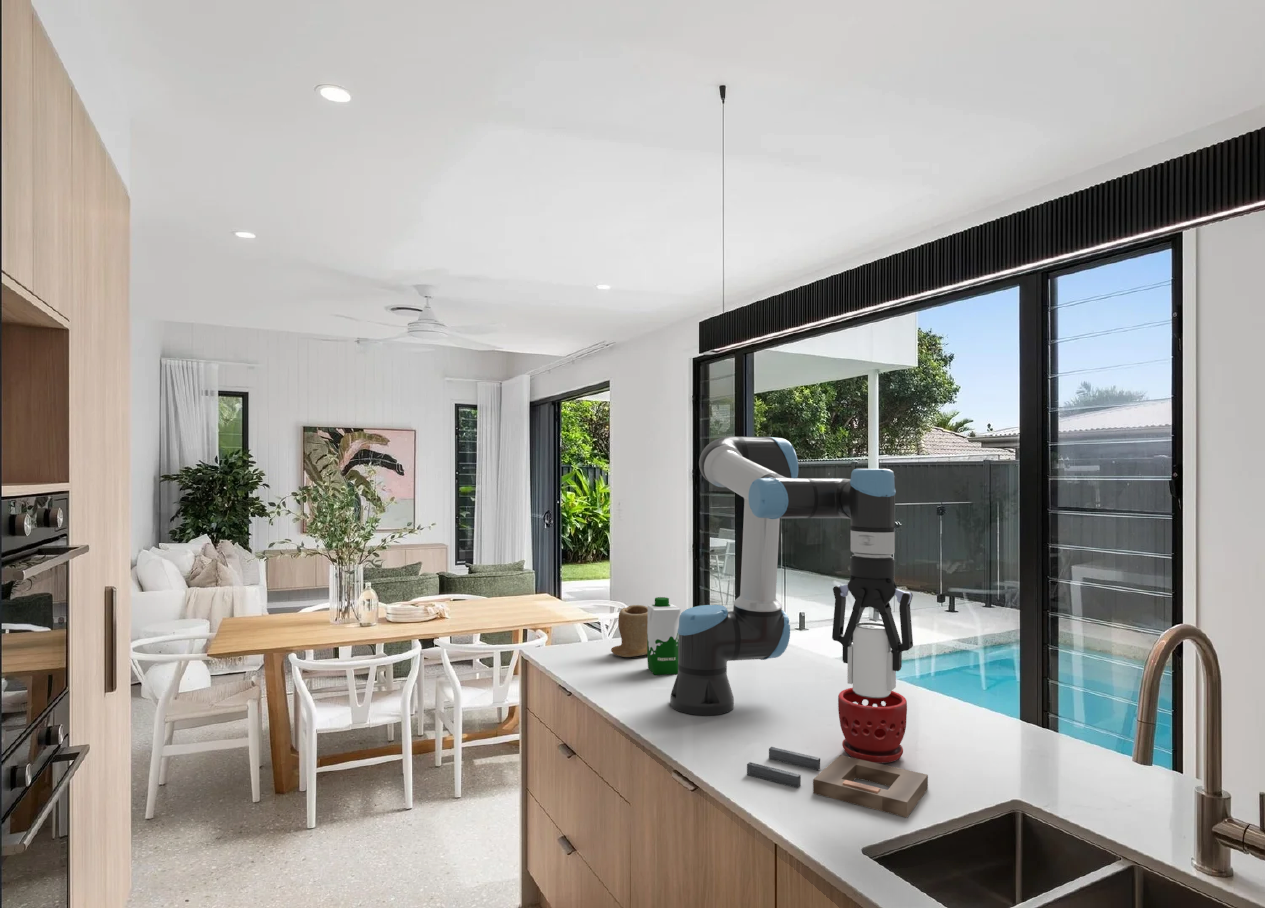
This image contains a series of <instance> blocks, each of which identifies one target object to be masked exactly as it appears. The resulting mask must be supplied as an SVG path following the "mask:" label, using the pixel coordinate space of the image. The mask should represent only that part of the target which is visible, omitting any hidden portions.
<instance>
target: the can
mask: <svg viewBox="0 0 1265 908" xmlns="http://www.w3.org/2000/svg"><path fill="white" fill-rule="evenodd" d="M852 644H853V683H852V688H853V691H854V692H855V693H856V694H857V695H860V696H863V697H868V698H885V697H888V696H889V694H891V691H889V690H887V652H890V651H891V650H892V649H891V646H890V643H889V640H888V637H887V633H886V630H885V627H884V624H883V623H879V622H871V621H869V622H865V621H864V622H859V623H857V624H856V628H855V630H854V632H853V642H852Z"/></svg>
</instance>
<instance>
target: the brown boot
mask: <svg viewBox="0 0 1265 908" xmlns="http://www.w3.org/2000/svg"><path fill="white" fill-rule="evenodd" d="M617 619H618V623H617V624H618V626H617V627H618V631H619V635H620V638H621V644H620V645H616V646H615V645H614V646H613V647H611V650H610V652H611V653H612V654H614V655H615V656H618V657H622V658H631V657H633V658H634V657H639V656H644V655H645V656H647V624H648V606H646V605H644V604H643V605H642V604H631V605H629V606H627V607H623V608H621V609H620V611H619V613H618V618H617Z"/></svg>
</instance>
